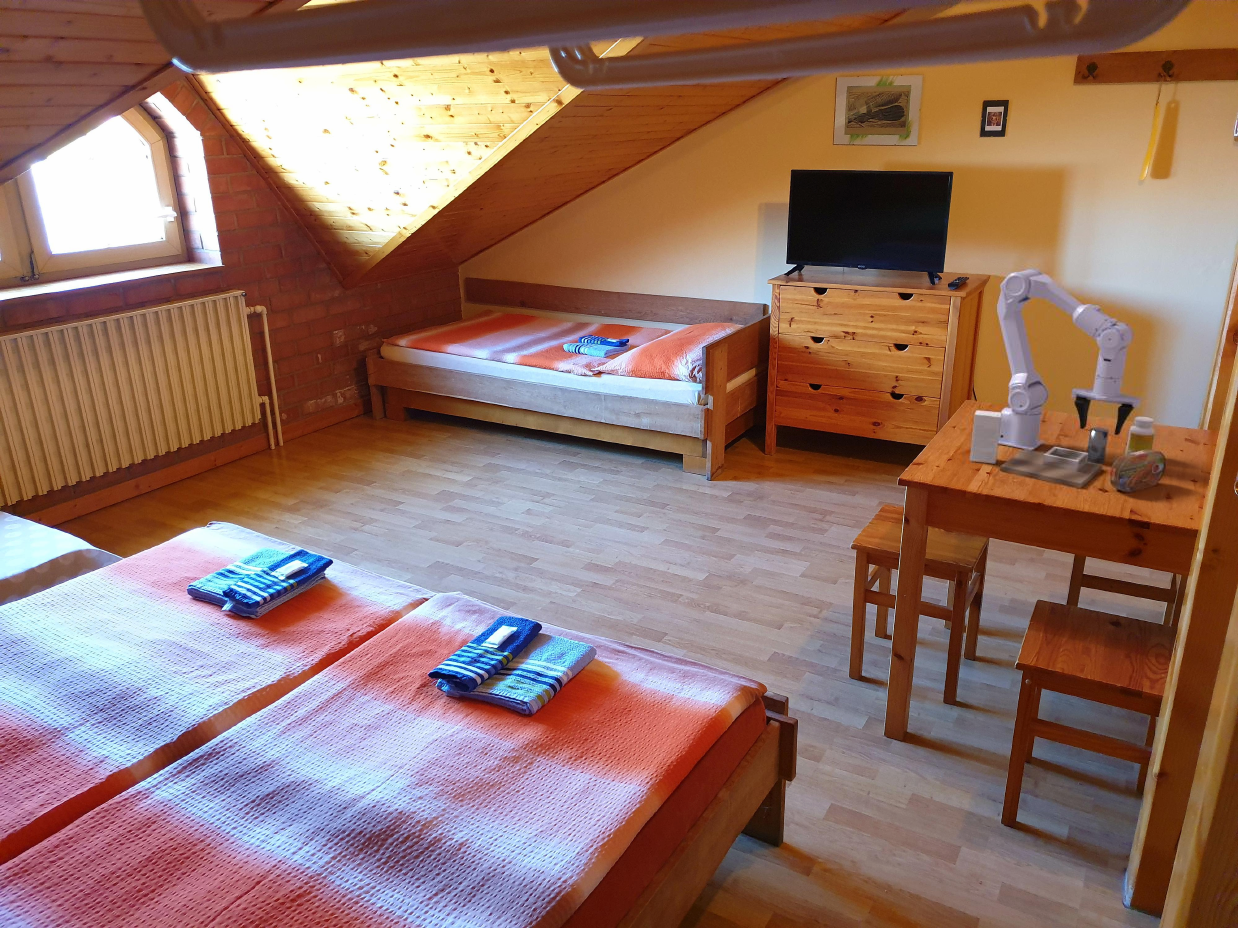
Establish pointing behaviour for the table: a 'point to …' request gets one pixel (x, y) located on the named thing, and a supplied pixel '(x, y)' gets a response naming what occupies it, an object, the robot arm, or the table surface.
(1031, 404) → the robot arm
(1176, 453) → the table surface
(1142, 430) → the supplement bottle
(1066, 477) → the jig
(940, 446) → the table surface
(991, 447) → the skincare box
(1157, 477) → the tin
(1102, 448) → the grey metal cylinder
